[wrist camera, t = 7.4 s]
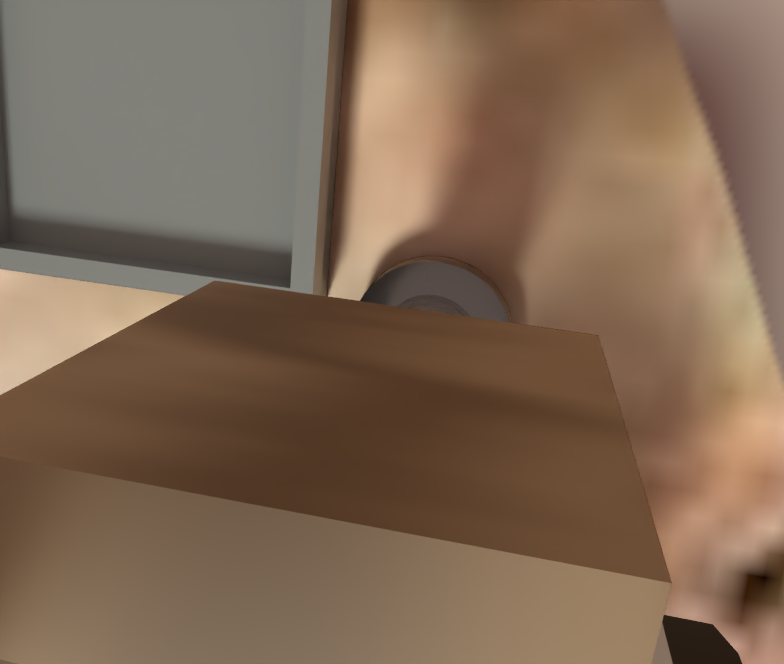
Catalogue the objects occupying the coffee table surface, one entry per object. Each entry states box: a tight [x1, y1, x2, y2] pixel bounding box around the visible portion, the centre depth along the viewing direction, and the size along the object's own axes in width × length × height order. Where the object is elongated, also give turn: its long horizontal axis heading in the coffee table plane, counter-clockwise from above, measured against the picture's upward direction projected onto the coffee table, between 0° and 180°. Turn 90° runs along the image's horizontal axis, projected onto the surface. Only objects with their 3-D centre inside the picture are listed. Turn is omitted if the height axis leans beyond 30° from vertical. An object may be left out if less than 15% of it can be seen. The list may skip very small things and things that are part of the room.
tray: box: [0, 0, 348, 296], centre depth 22 cm, size 11×11×2 cm
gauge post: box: [360, 256, 512, 323], centre depth 19 cm, size 5×5×8 cm
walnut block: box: [0, 280, 672, 664], centre depth 11 cm, size 7×7×7 cm
